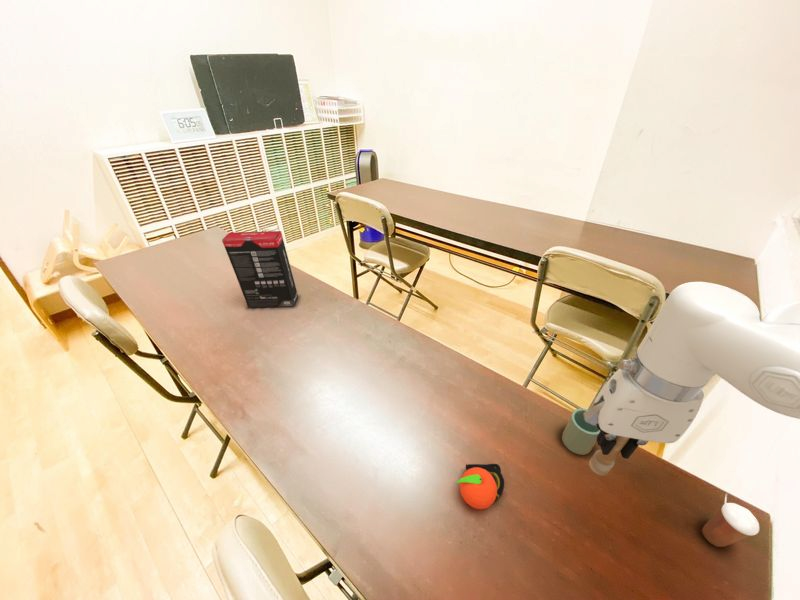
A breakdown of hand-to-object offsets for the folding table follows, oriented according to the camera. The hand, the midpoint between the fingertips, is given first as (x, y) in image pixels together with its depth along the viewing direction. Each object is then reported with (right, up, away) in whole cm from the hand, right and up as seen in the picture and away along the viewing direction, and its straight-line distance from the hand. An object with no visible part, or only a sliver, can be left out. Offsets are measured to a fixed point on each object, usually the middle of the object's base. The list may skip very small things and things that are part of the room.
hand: (612, 447), depth 52 cm
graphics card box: (-80, +23, +65) cm, 106 cm away
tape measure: (-18, -13, +13) cm, 26 cm away
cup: (+5, -8, +19) cm, 22 cm away
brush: (0, -5, +4) cm, 7 cm away
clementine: (-20, -15, +11) cm, 27 cm away
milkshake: (+21, -18, +5) cm, 28 cm away
